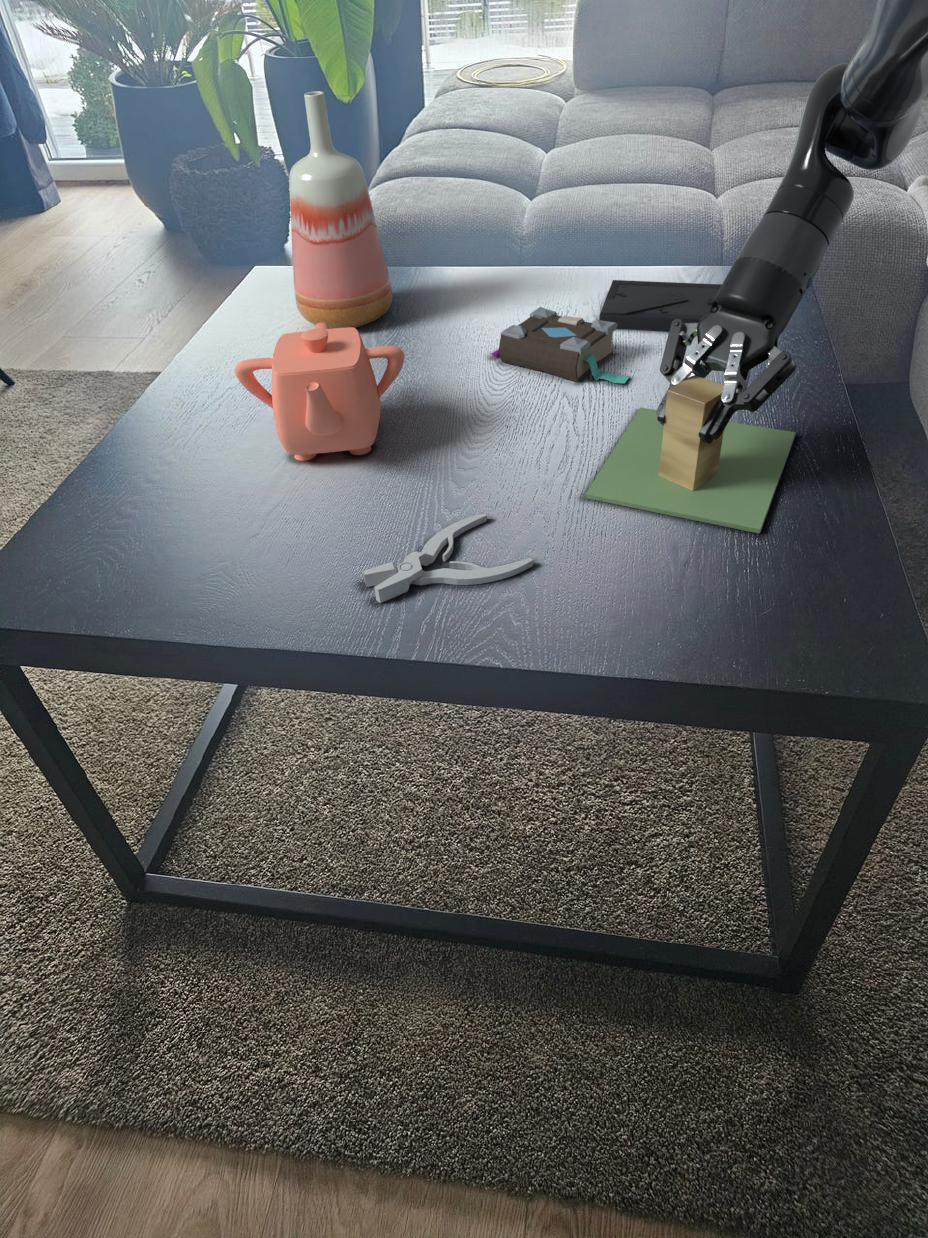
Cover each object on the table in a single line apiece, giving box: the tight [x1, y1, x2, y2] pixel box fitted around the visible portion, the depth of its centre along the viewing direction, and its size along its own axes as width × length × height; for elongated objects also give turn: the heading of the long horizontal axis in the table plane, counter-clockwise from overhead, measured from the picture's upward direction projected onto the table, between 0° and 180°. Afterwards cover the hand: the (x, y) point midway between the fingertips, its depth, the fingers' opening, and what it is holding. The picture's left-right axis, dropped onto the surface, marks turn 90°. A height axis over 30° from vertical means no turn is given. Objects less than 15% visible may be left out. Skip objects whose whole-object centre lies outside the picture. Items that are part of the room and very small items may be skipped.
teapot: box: [234, 323, 405, 462], centre depth 98 cm, size 17×16×13 cm
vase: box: [288, 90, 393, 329], centre depth 121 cm, size 14×14×30 cm
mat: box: [584, 407, 797, 535], centre depth 93 cm, size 18×20×1 cm
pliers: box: [363, 512, 534, 604], centre depth 82 cm, size 10×2×15 cm
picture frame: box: [598, 279, 723, 332], centre depth 124 cm, size 13×2×18 cm
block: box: [659, 375, 724, 491], centre depth 88 cm, size 4×4×10 cm
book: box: [490, 306, 630, 384], centre depth 114 cm, size 20×12×5 cm, turn 54°
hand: (683, 431), depth 86 cm, fingers closed on block, 4 cm apart
